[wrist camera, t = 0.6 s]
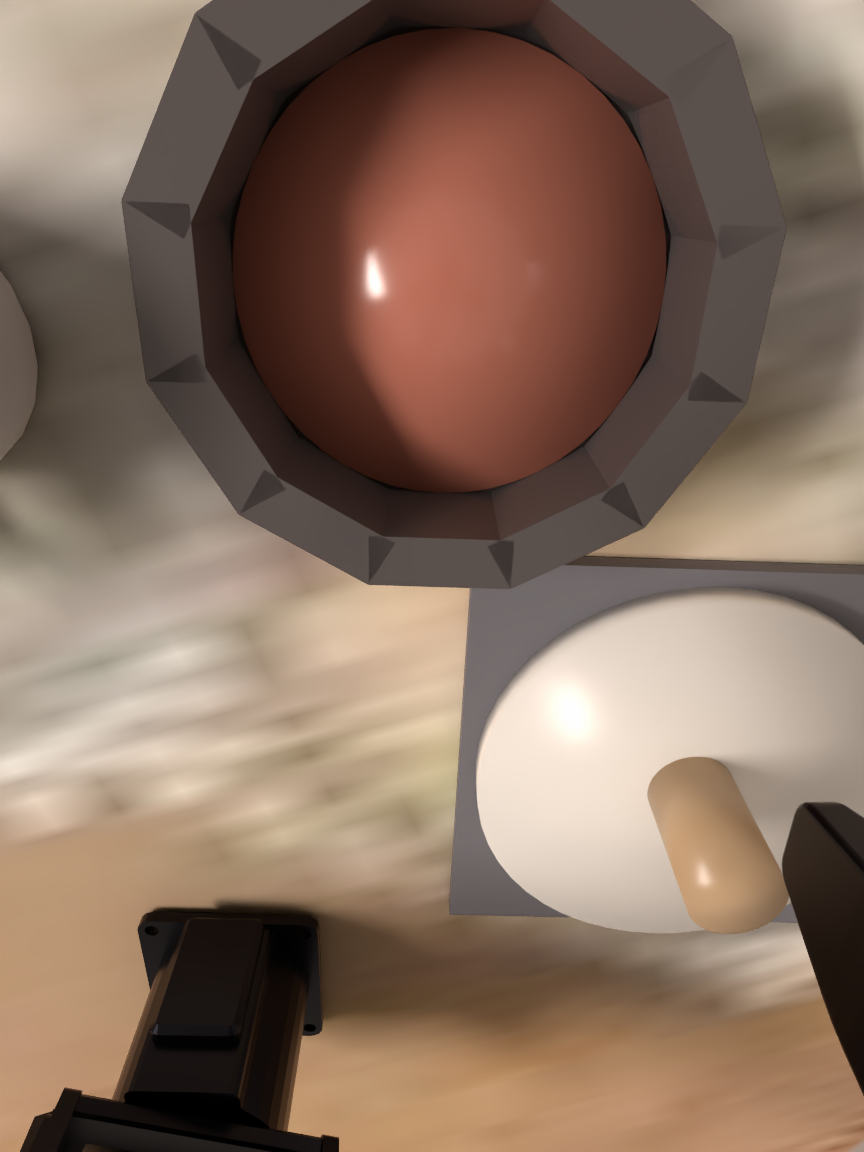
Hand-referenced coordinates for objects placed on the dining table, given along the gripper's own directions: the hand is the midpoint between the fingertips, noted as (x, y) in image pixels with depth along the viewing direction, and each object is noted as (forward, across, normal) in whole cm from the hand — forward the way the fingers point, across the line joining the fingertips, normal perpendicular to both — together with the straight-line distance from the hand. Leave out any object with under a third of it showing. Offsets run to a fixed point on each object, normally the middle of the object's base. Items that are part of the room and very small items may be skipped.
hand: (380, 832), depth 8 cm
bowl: (+13, -1, -4) cm, 14 cm away
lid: (+13, -9, +10) cm, 18 cm away
